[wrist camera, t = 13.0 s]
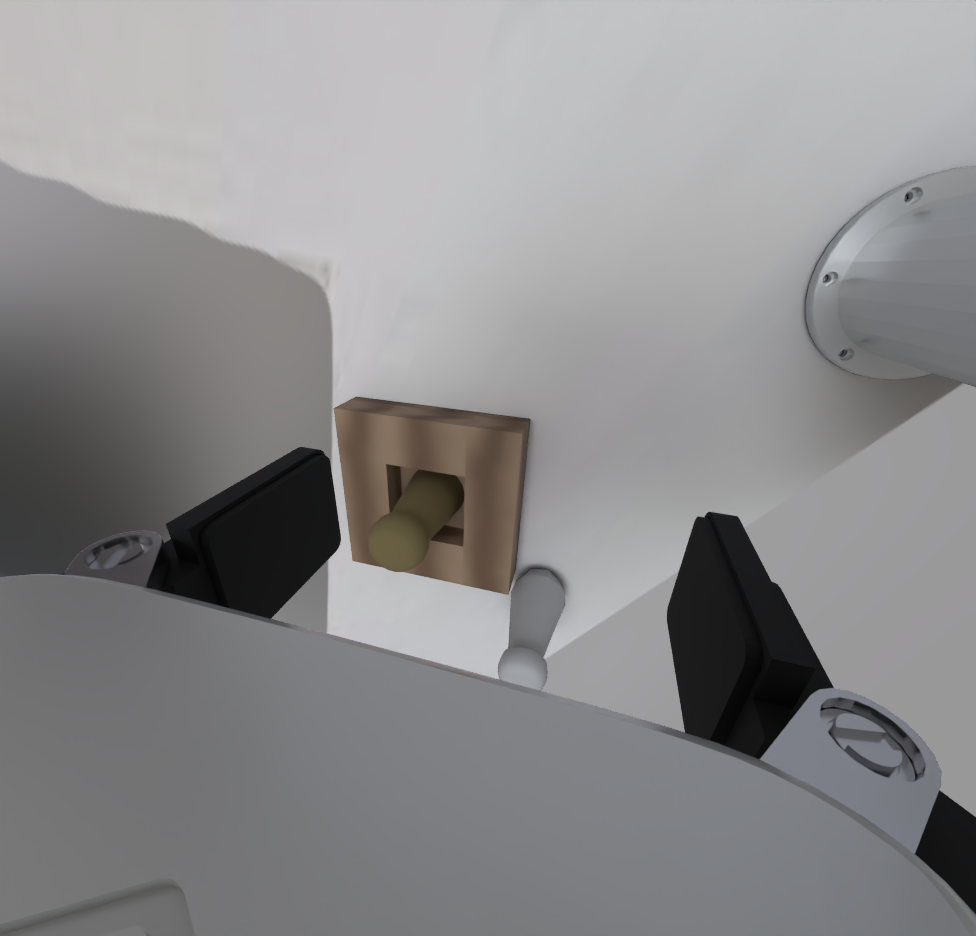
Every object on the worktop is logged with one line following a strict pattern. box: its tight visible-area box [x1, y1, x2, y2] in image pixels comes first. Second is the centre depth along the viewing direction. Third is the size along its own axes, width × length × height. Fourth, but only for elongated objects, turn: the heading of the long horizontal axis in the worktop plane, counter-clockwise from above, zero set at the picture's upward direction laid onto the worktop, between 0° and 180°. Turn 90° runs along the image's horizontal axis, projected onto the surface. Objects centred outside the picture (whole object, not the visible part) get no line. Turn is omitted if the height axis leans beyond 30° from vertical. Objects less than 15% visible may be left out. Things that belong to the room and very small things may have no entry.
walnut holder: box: [334, 397, 530, 595], centre depth 43 cm, size 18×18×4 cm
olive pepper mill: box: [368, 470, 465, 572], centre depth 39 cm, size 6×6×11 cm
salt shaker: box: [498, 569, 565, 691], centre depth 41 cm, size 6×6×13 cm
